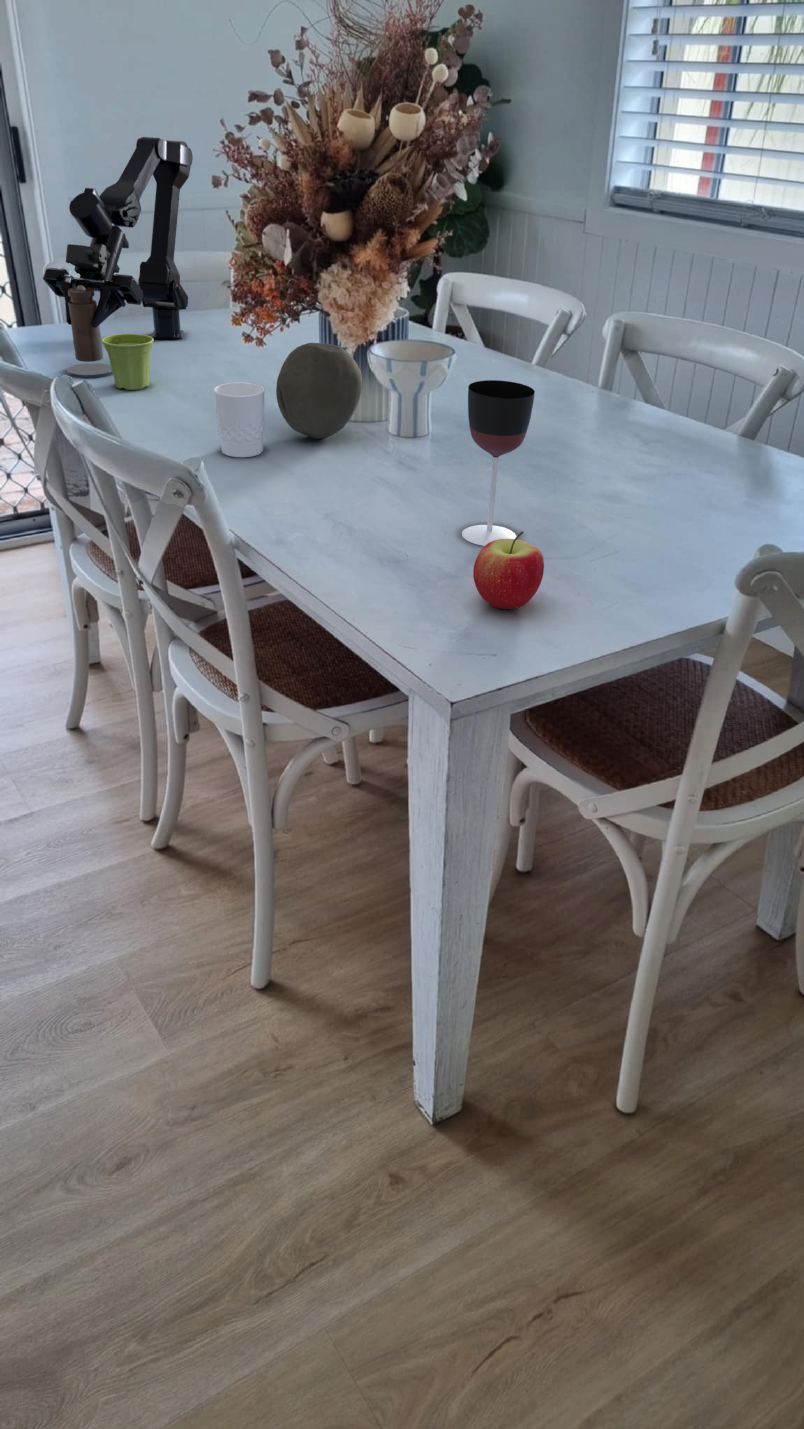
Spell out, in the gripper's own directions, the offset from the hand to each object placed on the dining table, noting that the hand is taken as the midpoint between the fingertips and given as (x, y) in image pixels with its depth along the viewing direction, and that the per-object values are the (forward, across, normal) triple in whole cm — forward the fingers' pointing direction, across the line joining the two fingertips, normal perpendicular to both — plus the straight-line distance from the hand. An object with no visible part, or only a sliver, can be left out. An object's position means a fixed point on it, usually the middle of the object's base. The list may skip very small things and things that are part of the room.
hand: (81, 324), depth 203 cm
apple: (+56, +99, -44) cm, 122 cm away
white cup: (+28, +47, -15) cm, 57 cm away
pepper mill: (+4, 0, +6) cm, 7 cm away
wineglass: (+42, +92, -29) cm, 105 cm away
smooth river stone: (+20, +55, -6) cm, 59 cm away
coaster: (+6, 0, +7) cm, 9 cm away
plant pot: (+10, +12, +4) cm, 16 cm away
